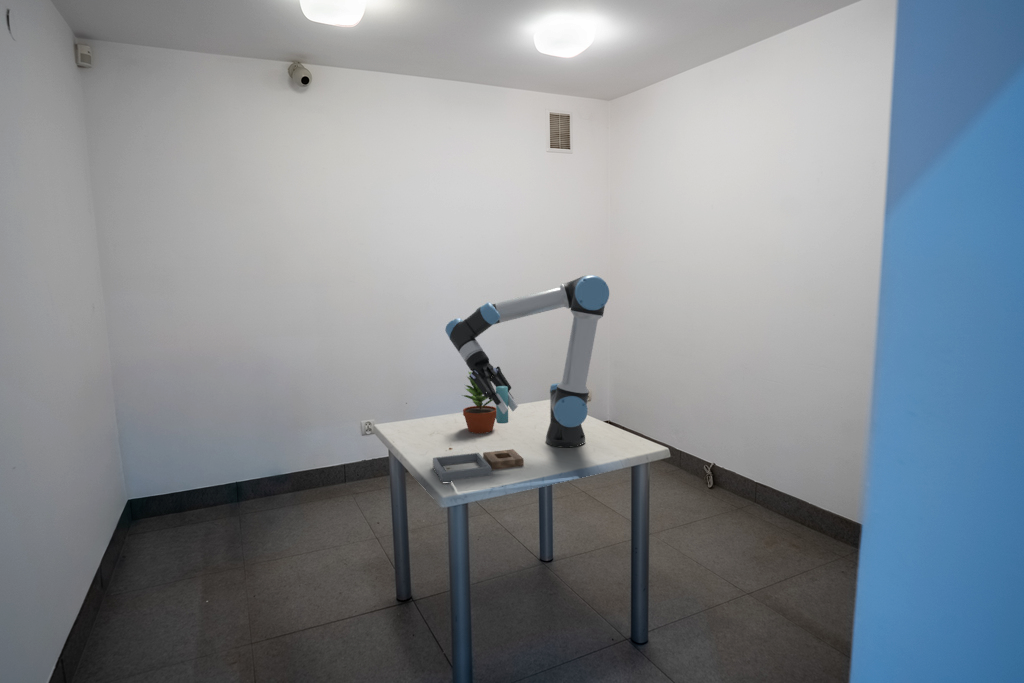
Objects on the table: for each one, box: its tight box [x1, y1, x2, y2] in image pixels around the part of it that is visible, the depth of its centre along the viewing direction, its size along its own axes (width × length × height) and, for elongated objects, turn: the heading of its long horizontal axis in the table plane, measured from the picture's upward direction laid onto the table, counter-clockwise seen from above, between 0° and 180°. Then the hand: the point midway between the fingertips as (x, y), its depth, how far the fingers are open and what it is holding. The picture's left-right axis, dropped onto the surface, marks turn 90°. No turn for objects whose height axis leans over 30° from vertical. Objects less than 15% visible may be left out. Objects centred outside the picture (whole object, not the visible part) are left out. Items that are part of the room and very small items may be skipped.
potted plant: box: [461, 370, 496, 434], centre depth 236 cm, size 15×15×30 cm
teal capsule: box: [495, 386, 509, 424], centre depth 191 cm, size 4×4×12 cm
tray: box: [432, 452, 492, 482], centre depth 187 cm, size 16×16×4 cm
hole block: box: [482, 448, 525, 471], centre depth 193 cm, size 11×11×4 cm
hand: (510, 409), depth 189 cm, fingers closed on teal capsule, 4 cm apart
